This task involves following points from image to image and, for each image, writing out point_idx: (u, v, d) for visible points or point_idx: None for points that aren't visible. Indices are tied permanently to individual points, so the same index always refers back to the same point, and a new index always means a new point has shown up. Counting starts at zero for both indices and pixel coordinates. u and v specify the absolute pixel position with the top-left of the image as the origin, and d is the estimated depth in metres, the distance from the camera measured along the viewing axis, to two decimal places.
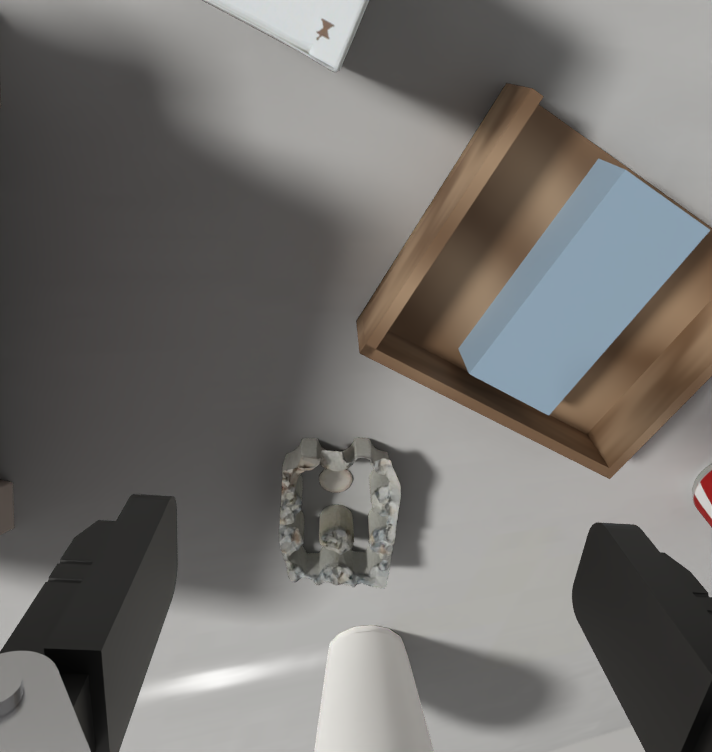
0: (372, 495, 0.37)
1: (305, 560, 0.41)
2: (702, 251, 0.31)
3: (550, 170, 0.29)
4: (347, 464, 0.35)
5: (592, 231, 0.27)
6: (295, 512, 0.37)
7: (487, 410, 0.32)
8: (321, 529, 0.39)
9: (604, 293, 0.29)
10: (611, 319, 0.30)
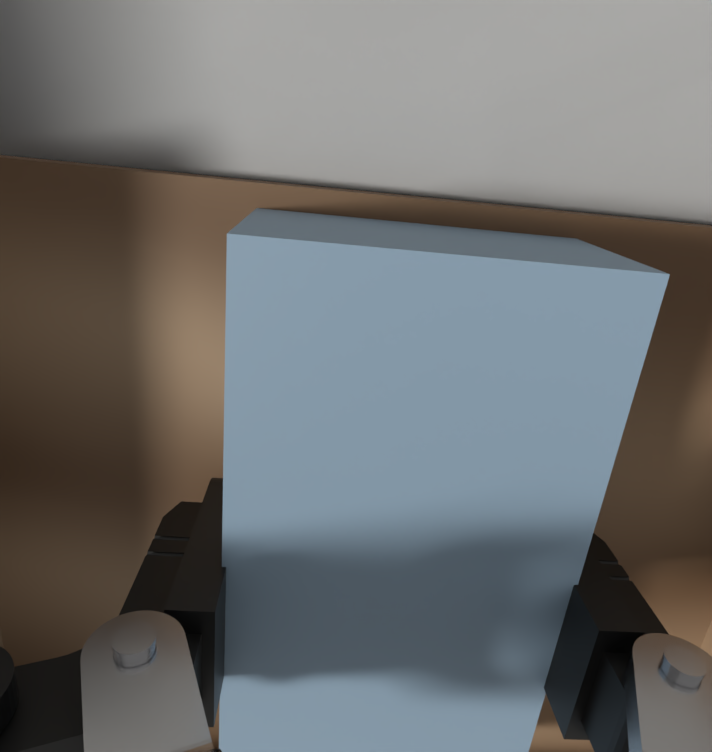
0: None
1: None
2: (709, 294, 0.11)
3: (153, 295, 0.10)
4: None
5: (268, 450, 0.08)
6: None
7: None
8: None
9: (437, 580, 0.09)
10: (506, 628, 0.09)
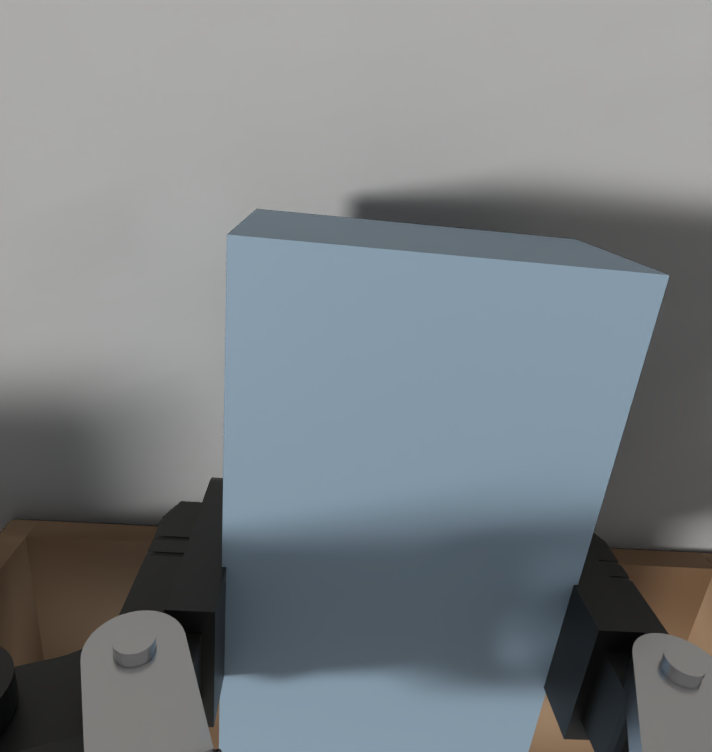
0: None
1: None
2: None
3: None
4: None
5: (268, 451, 0.08)
6: None
7: None
8: None
9: (437, 580, 0.09)
10: (506, 628, 0.09)
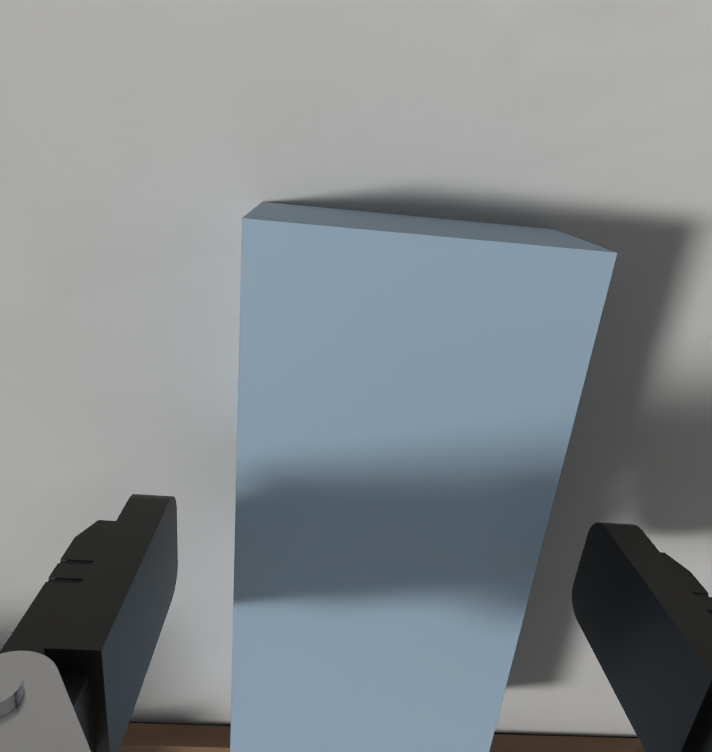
0: None
1: None
2: None
3: None
4: None
5: (275, 407, 0.09)
6: None
7: None
8: None
9: (423, 523, 0.10)
10: (484, 567, 0.11)
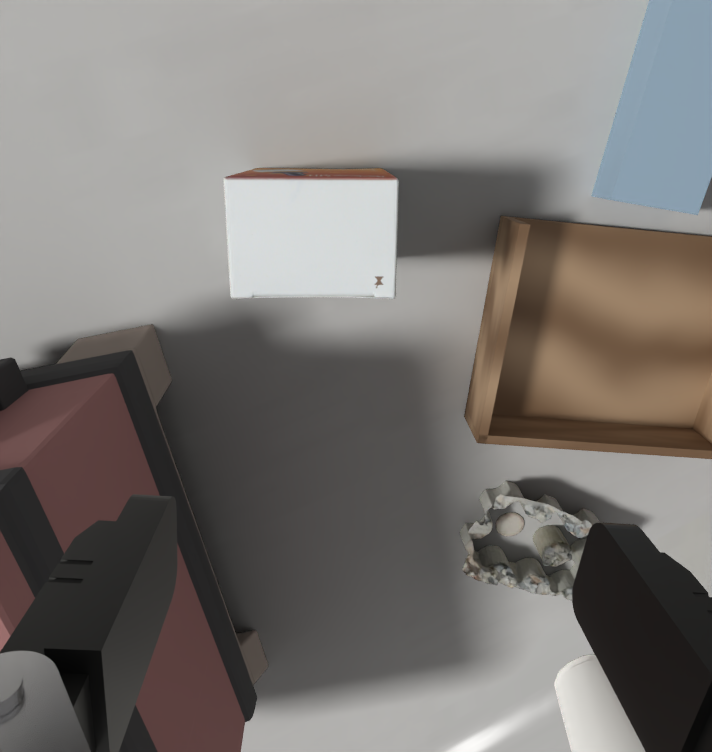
0: (528, 515, 0.43)
1: (572, 576, 0.46)
2: None
3: (560, 255, 0.37)
4: (485, 524, 0.42)
5: (676, 24, 0.31)
6: (510, 572, 0.44)
7: (594, 446, 0.38)
8: (542, 559, 0.45)
9: (708, 76, 0.32)
10: None
